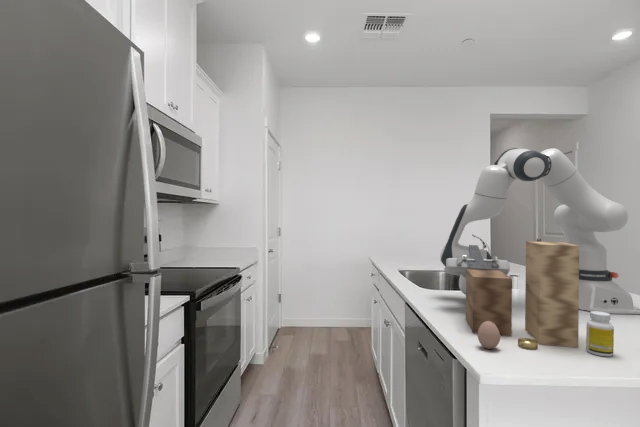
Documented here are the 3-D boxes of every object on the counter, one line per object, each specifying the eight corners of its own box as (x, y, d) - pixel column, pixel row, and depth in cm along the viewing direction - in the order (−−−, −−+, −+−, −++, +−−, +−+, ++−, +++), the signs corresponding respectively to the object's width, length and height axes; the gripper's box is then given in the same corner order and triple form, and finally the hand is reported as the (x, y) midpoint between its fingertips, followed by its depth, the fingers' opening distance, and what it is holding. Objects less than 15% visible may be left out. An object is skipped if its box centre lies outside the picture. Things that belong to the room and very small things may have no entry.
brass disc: (534, 345, 99) (534, 338, 99) (540, 351, 94) (540, 344, 94) (516, 344, 100) (516, 337, 100) (520, 349, 96) (520, 342, 96)
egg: (498, 353, 92) (498, 325, 92) (475, 349, 95) (476, 322, 95) (501, 347, 96) (501, 320, 96) (479, 343, 99) (479, 317, 99)
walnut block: (498, 320, 121) (499, 270, 121) (511, 336, 105) (512, 278, 105) (465, 318, 123) (466, 269, 123) (472, 333, 108) (473, 276, 108)
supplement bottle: (618, 358, 90) (618, 316, 90) (592, 356, 91) (593, 315, 91) (606, 350, 95) (606, 311, 95) (582, 348, 96) (582, 309, 97)
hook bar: (461, 252, 143) (462, 244, 143) (484, 253, 141) (484, 245, 141) (468, 276, 124) (469, 267, 123) (495, 278, 122) (495, 269, 121)
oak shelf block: (559, 332, 110) (560, 242, 110) (578, 347, 97) (579, 245, 97) (525, 329, 112) (525, 241, 112) (539, 344, 99) (540, 244, 99)
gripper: (443, 263, 141) (446, 248, 129) (503, 266, 136) (511, 250, 124) (444, 280, 138) (446, 265, 126) (505, 283, 133) (513, 268, 121)
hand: (479, 257), depth 125 cm, fingers open, 8 cm apart
